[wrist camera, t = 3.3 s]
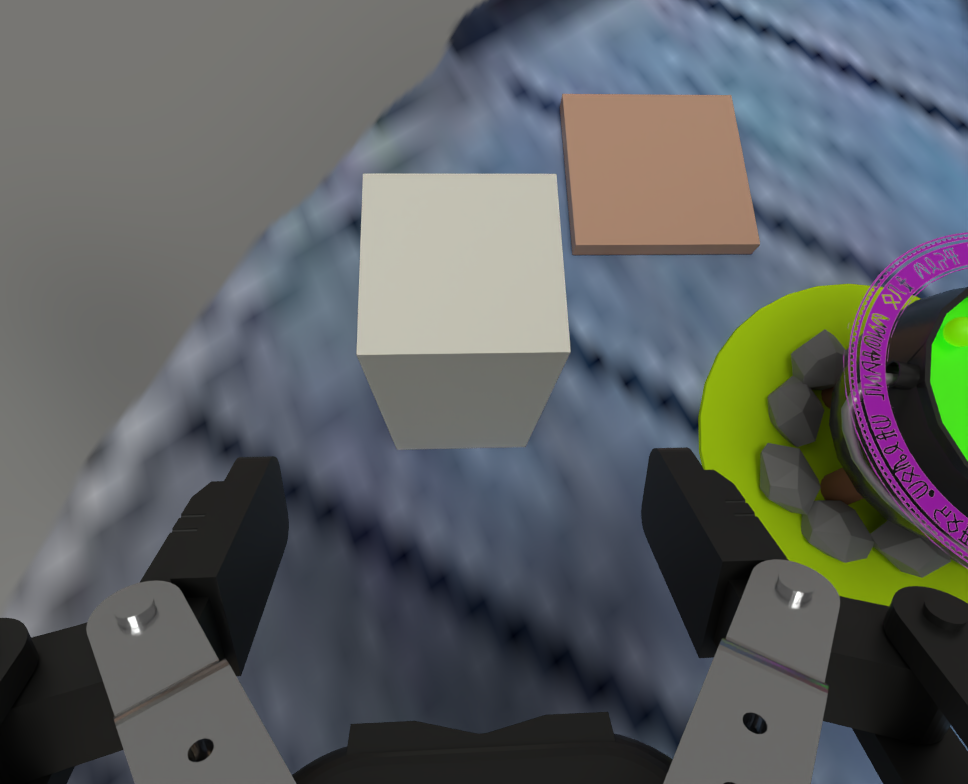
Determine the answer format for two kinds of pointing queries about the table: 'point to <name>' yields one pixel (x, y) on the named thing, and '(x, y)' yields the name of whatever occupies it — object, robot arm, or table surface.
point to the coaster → (655, 175)
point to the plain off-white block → (461, 305)
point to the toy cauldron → (853, 429)
